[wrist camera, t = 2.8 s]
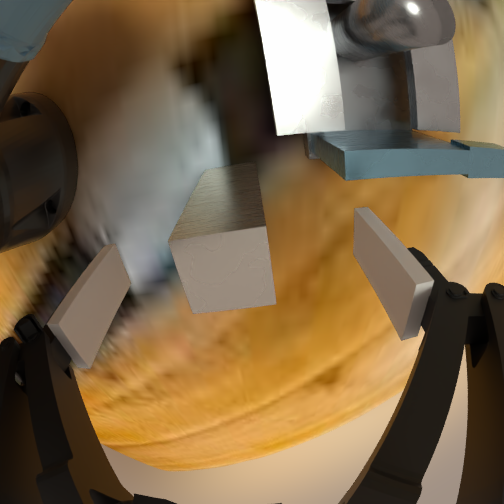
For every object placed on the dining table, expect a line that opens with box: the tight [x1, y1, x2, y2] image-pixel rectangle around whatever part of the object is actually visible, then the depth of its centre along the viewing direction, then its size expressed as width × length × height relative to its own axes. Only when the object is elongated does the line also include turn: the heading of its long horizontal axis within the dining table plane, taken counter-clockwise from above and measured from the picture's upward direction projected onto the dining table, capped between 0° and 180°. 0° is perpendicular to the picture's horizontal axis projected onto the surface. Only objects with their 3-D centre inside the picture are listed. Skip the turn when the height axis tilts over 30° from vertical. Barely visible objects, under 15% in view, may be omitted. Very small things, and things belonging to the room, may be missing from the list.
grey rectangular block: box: [168, 162, 276, 314], centre depth 17 cm, size 4×4×12 cm
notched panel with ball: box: [253, 0, 504, 181], centre depth 12 cm, size 16×16×11 cm
